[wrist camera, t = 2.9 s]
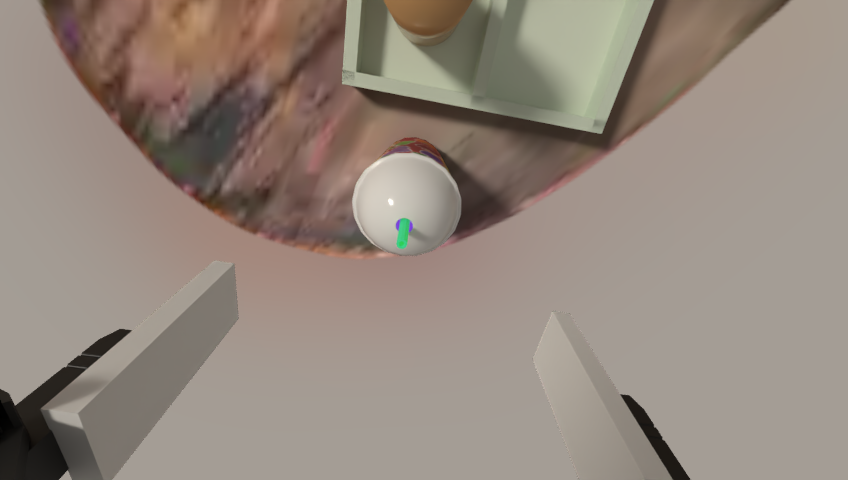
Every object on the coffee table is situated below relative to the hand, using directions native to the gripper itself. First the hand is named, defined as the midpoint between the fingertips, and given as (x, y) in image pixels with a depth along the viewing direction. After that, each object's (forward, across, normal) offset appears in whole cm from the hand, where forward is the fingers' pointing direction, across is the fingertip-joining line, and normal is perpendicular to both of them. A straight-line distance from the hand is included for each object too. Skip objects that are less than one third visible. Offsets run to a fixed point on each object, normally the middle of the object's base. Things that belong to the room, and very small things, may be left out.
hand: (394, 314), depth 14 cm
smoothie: (+27, 0, 0) cm, 27 cm away
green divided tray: (+27, +5, +15) cm, 31 cm away
